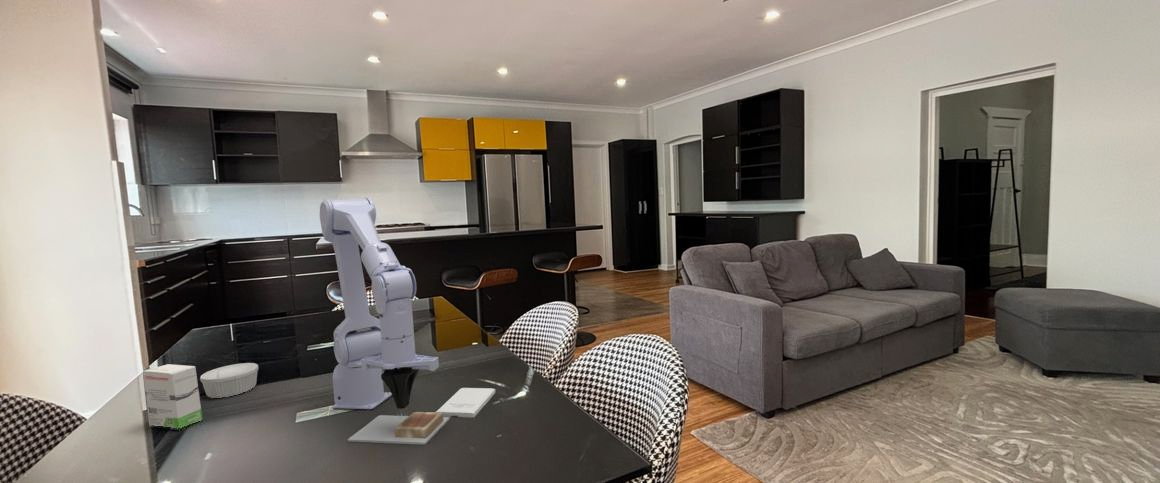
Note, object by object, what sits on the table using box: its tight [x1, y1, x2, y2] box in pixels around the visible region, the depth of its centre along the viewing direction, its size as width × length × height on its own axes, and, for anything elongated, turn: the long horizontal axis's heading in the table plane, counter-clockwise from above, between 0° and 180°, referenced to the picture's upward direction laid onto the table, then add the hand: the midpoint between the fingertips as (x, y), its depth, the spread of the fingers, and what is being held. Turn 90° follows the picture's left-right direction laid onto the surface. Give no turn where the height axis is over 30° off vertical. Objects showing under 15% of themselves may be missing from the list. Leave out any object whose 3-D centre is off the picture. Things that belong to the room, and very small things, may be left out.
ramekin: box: [199, 362, 259, 399], centre depth 116 cm, size 11×11×5 cm
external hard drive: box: [435, 387, 496, 419], centre depth 102 cm, size 2×8×12 cm
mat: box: [347, 414, 451, 446], centre depth 91 cm, size 15×10×1 cm, turn 80°
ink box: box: [142, 363, 203, 429], centre depth 99 cm, size 9×5×12 cm, turn 73°
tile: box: [395, 411, 444, 438], centre depth 91 cm, size 2×7×6 cm
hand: (403, 406), depth 91 cm, fingers closed
